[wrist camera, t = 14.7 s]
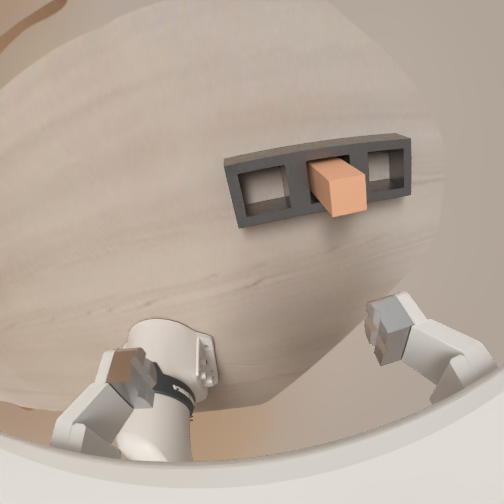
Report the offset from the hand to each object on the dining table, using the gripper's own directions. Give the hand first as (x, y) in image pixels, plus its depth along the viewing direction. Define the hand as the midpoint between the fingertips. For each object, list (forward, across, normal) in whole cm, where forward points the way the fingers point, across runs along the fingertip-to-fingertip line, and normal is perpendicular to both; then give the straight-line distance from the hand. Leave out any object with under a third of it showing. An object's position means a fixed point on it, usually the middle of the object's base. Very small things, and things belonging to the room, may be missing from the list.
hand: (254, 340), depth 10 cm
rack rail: (+29, +11, -4) cm, 31 cm away
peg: (+29, +11, -4) cm, 31 cm away
